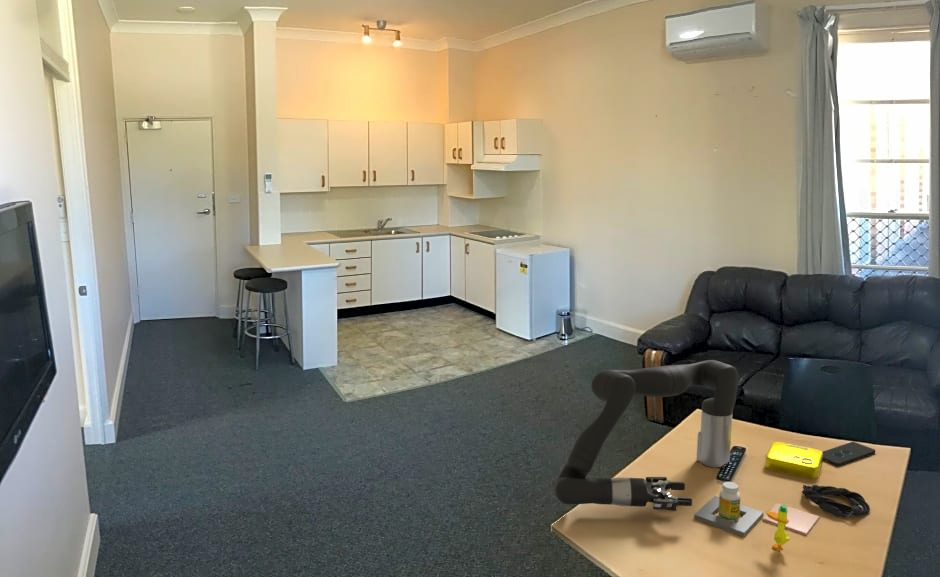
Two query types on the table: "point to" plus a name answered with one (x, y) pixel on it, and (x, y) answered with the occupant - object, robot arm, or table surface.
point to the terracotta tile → (795, 519)
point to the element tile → (794, 460)
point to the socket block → (739, 528)
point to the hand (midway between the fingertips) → (688, 493)
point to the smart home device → (846, 453)
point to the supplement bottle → (729, 502)
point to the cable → (834, 506)
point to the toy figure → (780, 526)
